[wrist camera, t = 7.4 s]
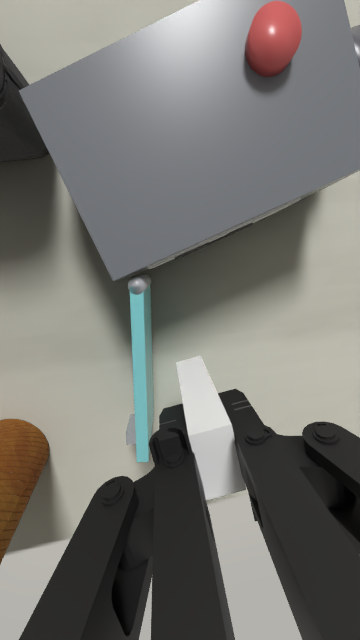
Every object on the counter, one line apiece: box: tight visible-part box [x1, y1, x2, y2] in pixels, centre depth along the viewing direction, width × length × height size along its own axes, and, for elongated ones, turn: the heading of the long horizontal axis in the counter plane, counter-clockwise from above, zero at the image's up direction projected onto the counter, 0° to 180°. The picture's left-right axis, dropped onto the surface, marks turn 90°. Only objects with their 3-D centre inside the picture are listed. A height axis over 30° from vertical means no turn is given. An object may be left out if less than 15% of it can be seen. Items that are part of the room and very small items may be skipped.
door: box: [126, 275, 154, 462], centre depth 19 cm, size 12×2×6 cm, turn 0°
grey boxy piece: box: [19, 0, 360, 281], centre depth 16 cm, size 18×10×8 cm, turn 114°
